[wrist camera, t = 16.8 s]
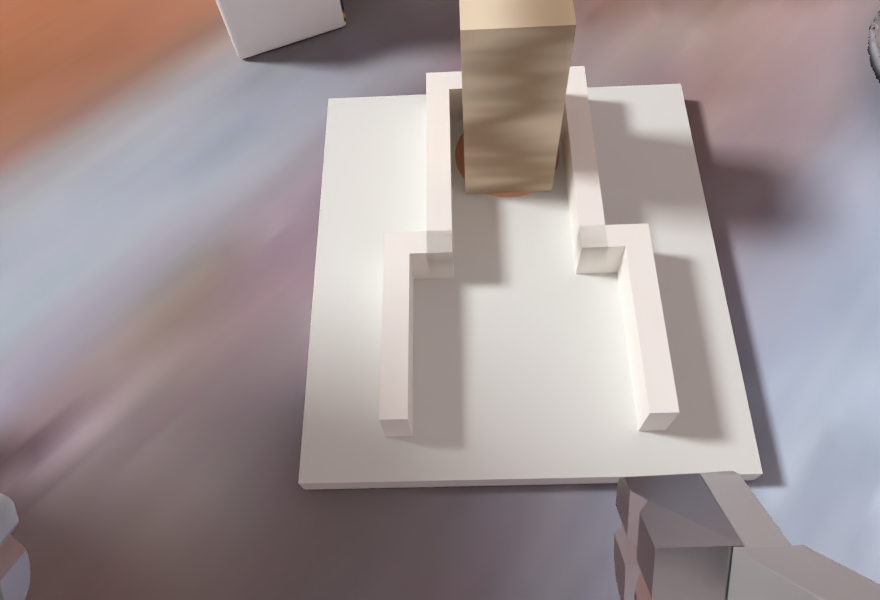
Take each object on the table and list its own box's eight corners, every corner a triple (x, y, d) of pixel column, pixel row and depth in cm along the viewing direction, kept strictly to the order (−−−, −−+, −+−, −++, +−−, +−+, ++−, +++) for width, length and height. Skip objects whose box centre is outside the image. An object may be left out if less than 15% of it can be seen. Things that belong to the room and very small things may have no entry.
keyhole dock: (304, 489, 33) (284, 469, 30) (332, 112, 43) (320, 66, 40) (753, 480, 32) (784, 458, 29) (675, 98, 42) (692, 50, 39)
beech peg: (465, 194, 38) (460, 30, 28) (463, 127, 40) (457, -48, 30) (551, 190, 38) (576, 24, 28) (545, 123, 40) (565, -53, 30)
